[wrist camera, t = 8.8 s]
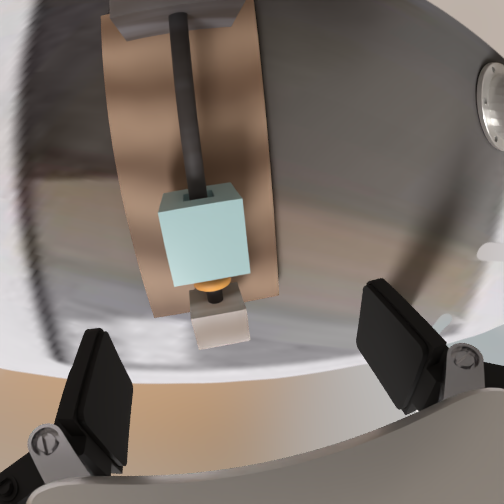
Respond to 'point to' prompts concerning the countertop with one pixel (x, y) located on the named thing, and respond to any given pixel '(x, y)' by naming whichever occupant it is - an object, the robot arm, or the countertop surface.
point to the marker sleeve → (204, 235)
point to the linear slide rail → (191, 143)
